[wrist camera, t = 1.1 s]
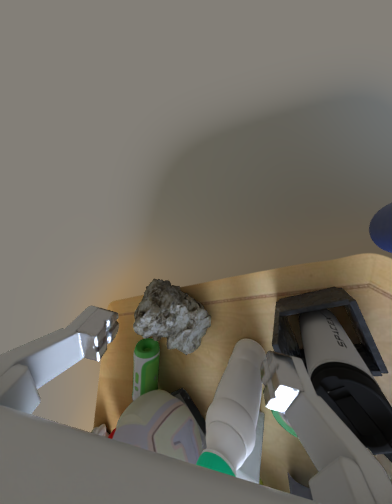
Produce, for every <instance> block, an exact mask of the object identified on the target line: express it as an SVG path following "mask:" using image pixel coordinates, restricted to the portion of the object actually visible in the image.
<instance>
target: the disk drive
mask: <svg viewBox="0 0 392 504" xmlns="http://www.w3.org/2000/svg"><path fill="white" fill-rule="evenodd" d="M171 395H172V396H174V397H176V398H178V399H179V400H181V401H182V402H183V403H184V404H185V405H186V406H187V407H188V409H189V410H190V412H191V413H192V415H193V417H194V419H195V421H196V424H197V426H198V429H199V432H200V436H201V441H202V448H203V449H206V448H207V446H206V422H205V420H204V418H203V417H202V415H201V414H200V412H199V411H198V409H197V407H196V406H195V404H194V403H193V401H192V400H191V398H190V396H189V395H188V393H187V392H186V391H185V390H184V389H183V388H181V389H179V390H177V391H175V392H172V393H171Z"/></svg>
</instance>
